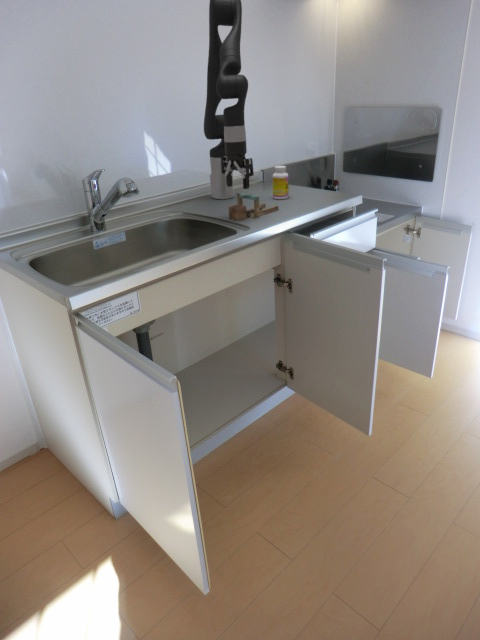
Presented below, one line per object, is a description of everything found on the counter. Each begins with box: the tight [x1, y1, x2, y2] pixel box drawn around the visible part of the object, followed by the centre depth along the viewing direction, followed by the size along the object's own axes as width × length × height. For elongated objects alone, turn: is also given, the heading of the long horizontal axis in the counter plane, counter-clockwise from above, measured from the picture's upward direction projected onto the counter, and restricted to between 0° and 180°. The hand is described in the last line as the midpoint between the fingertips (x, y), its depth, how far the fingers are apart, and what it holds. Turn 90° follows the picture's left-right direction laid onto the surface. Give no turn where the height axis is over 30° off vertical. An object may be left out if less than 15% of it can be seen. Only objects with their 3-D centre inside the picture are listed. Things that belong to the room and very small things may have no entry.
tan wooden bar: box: [246, 205, 263, 218], centre depth 182 cm, size 3×9×3 cm, turn 134°
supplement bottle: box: [272, 165, 290, 200], centre depth 201 cm, size 7×7×13 cm
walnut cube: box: [228, 204, 248, 222], centre depth 177 cm, size 5×5×5 cm
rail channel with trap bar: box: [236, 192, 279, 219], centre depth 183 cm, size 10×14×8 cm
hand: (237, 187), depth 174 cm, fingers open, 8 cm apart
